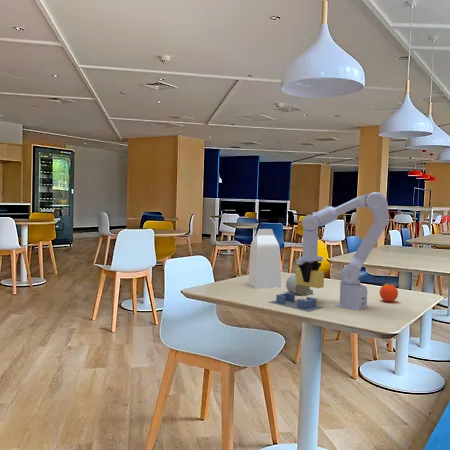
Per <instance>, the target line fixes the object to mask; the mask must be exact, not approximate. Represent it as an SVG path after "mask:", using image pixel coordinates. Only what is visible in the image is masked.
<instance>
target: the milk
mask: <svg viewBox="0 0 450 450" xmlns="http://www.w3.org/2000/svg"><path fill="white" fill-rule="evenodd" d="M248 263H249V264H248V280H247V284H248V285H250V286H251V287H252V288H254V289H255V290H257V289H258V290H259V289H273V288H277V289H278V288H279V289H281V288H282V281H281V279H282V277H281V276H282V275H281V273H282V271H281V248H280V244H279V242H278V240H277V238H276V235H275V234H274V230H273V229H272V228H259V229H258V230H257V232H256V234H255V236H254V238H253V239H252V241H251V243H250V251H249V262H248Z"/></svg>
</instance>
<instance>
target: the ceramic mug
mask: <svg viewBox="0 0 450 450" xmlns="http://www.w3.org/2000/svg"><path fill="white" fill-rule="evenodd" d="M285 286H286V289H287V291H288V293H291V294H295V295H297V296H306V295H307V294H308V293H309V294H311V295H313V293H314V290H313V289H311V287H309V286H303V285H298V284H295V274H292V275H290V276H289V277H287V280H286V282H285Z"/></svg>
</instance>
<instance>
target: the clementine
mask: <svg viewBox="0 0 450 450" xmlns="http://www.w3.org/2000/svg"><path fill="white" fill-rule="evenodd" d="M379 296H380V298H381V299H382V300H383V301H384V302H388V303H389V302H390V303H391V302H393V301H395V300H396V299H397V298H398V296H399V291H398V288H397V287H396V286H395V285H394V284H391V283H383V284H382V285H381V287H380V289H379Z"/></svg>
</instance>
